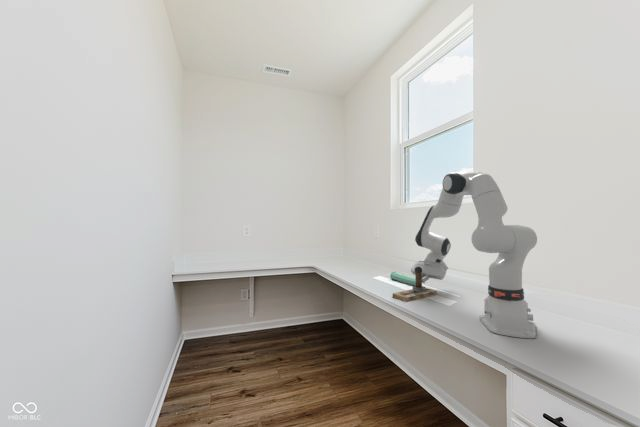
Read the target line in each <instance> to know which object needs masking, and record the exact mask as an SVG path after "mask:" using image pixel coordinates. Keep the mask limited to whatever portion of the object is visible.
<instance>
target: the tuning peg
mask: <svg viewBox="0 0 640 427" xmlns="http://www.w3.org/2000/svg"><path fill="white" fill-rule="evenodd" d="M414 276H415V277H414V278H416V286H412V289H413V291H417V292H422V291H423V292H427V291H425V288H426V286H423V283H422V268H421V267H416V268H415V275H414Z"/></svg>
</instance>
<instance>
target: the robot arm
mask: <svg viewBox="0 0 640 427" xmlns="http://www.w3.org/2000/svg"><path fill="white" fill-rule="evenodd" d="M442 179H443V180H442V189H441V192H440V195H439V198H438V201H437V203H436V204H435V205H432V206H431V207H429V210H428V211H427V213H426V215H425V217H424V220H423V222H422V224H421V226H420V228H419V230H418V232H417V234H415V239H414V241H415V243H416V244H417V247H421V248H425V249H428V250H430V251H429V253H428V254H427V255H426V256H425V259H424V260H419V261H416V262H415V263H414V264H413V266H412V267H411V268H410V272H411V274H413V275H414V276H415V268H416V267H421V268H422V284H425V283H426V282H427V281H428V280H430V279H435V280H440V281H441V280H443V279H444V278H445V277H446V274H447V271H448V270H449V268H448V266H447V264H446V263H445V261H444V259H445V258H446V257H447V255H448V254H449V251H450V249H451V242H450V239H449V238H448V237H446V236H444V235H440V234H437V233H435V232H432V231H430V229H431V228H430V227H431V225H432V223H433V221H434V220H435V219H443V218H444V219H445V218H451V217H453V216H456V215H457V214H458V213H459V212H460V210H461V207H462V203H463V199H464V196H471V199H472V202H473V205H474V207H475V211H476V214H477V219H478V223H477V227H476V228H475V229H474V231H473V232H472V234H471V243H472V246H473V248H475V250H477V251H478V252H482V253H486V254H487V253H488V254H498V255H497V258H496V259H495V260H494V261H493V262H492V263H491V264H490V265H489V267H488V281H489V283H488V286H487V291H488V295H487V297H485V298H484V301H483V302H484V311H483V312H484V313H483V314H484V315H480V316H479V320H480V321H481V322H482V324H483V325H484V327H486V329H487V330H488V331H489V332H491V333H494V334H498V335H501V336H506V337H507V336H508V337H512V338H513V337H514V338H522V339H535V338H537V331H536V330H537V326H536V322H535V321H534V314H532V313H531V311H532V310H531V308H530V307H529V303H528V302H527V300H525V292H524V288H523V267H524V263H525V260H526V258H527V256H528V254H530V251H531V250H532V249H533V248H535V247H536V245H537V242H538V236H537V234H536V232H535V231H534V229H533V228H531V227H529V226H523V225H519V224H507V225H505V224H504V223H503V217H504V216H505V215H506V213H507V212H508V205H507V203H506V201H505V199H504V195H503V194H502V192H501V189H500V188H499V187H500V186H498V184H497V182H496V181H495V179H494V178H493V177H492V176H491V174H488V173H484V172H472V171H460V172H456V171H453V172H449V173H447V174H446V175H445V176H444V177H443V178H442ZM530 313H531V314H530Z"/></svg>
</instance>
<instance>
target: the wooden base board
mask: <svg viewBox="0 0 640 427" xmlns="http://www.w3.org/2000/svg"><path fill="white" fill-rule="evenodd" d="M425 291H427V292H423V291H422V292H417V291H413V288H411V289H408V290H407V289H406V290H401V291H398V292H394V293H392V298H393V299H398V300H401V301H402V302H403V301H404V302H406V303H407V302H412V301H415V300H420V299H424V298H428V297H431V296H436V295H438V290H435V289H432V288H427V287H425Z"/></svg>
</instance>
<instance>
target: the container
mask: <svg viewBox="0 0 640 427" xmlns="http://www.w3.org/2000/svg"><path fill="white" fill-rule="evenodd" d="M389 275H390V279H391V280H393V281H394V280H395V281H396V282H401V283H403V284H406V285H411V286H412V287H414V286H416V277H412V276H409V275H405V274H401V273H399V272H397V271H392V272H391V273H390V274H389Z"/></svg>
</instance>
